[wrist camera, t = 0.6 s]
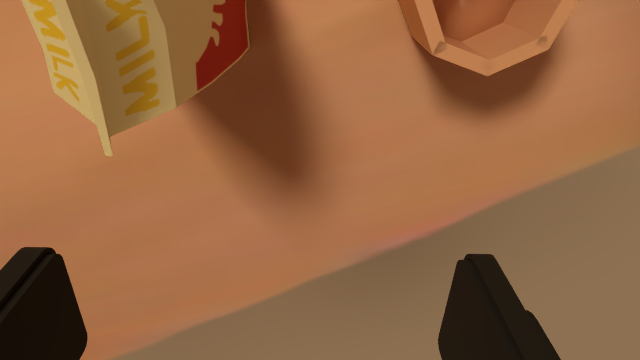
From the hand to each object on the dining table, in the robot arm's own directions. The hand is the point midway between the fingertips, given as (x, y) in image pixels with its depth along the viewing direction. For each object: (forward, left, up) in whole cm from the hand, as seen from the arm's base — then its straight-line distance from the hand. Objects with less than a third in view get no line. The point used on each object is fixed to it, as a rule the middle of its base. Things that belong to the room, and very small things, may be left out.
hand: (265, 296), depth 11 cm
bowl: (-9, +11, -28) cm, 31 cm away
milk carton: (-1, -8, -28) cm, 29 cm away
